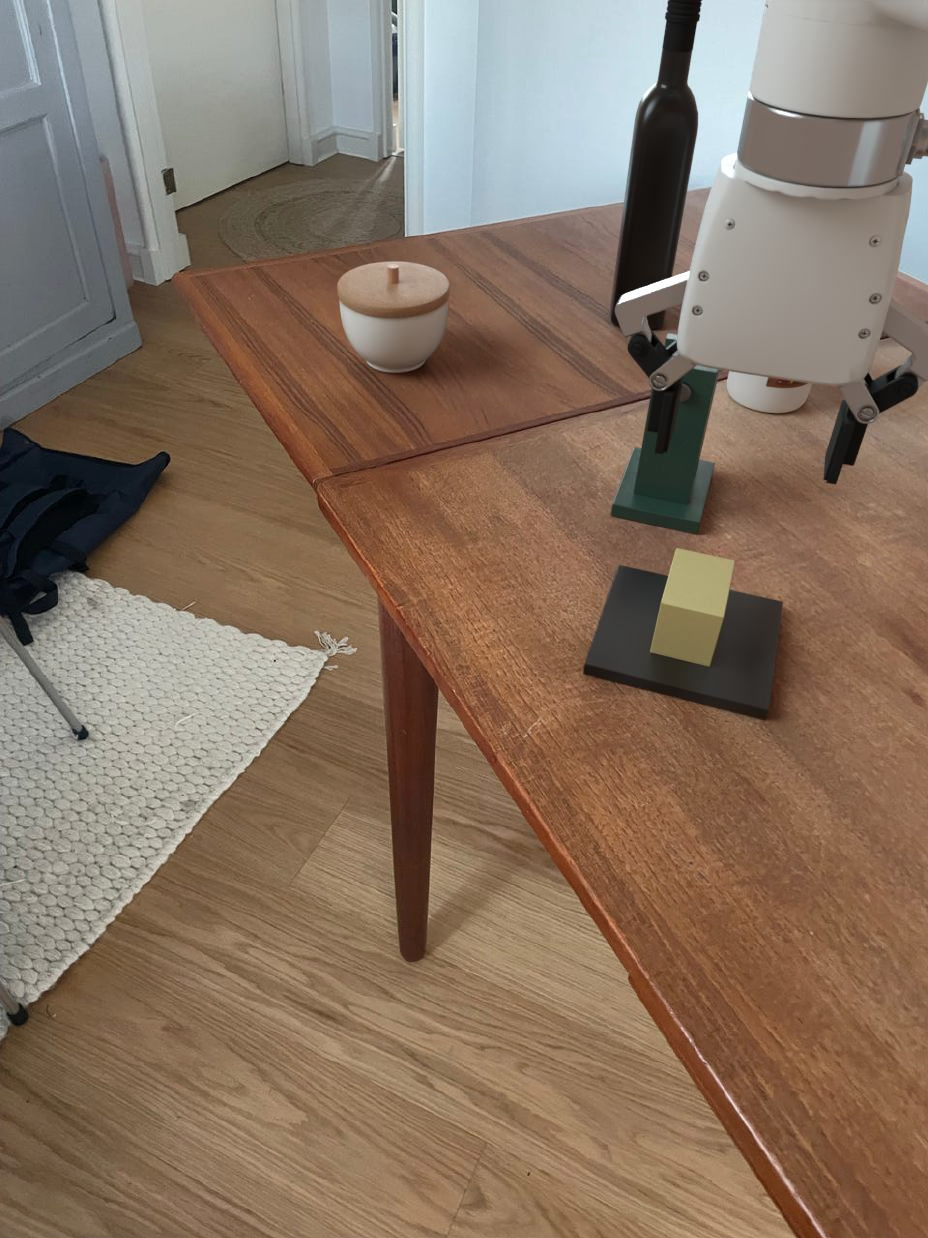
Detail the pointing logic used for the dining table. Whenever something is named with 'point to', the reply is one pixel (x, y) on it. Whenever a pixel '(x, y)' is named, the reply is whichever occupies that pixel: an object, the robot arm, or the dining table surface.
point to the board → (725, 684)
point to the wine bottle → (659, 165)
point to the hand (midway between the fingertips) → (745, 456)
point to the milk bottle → (767, 392)
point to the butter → (693, 607)
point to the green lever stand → (672, 462)
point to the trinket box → (394, 313)
